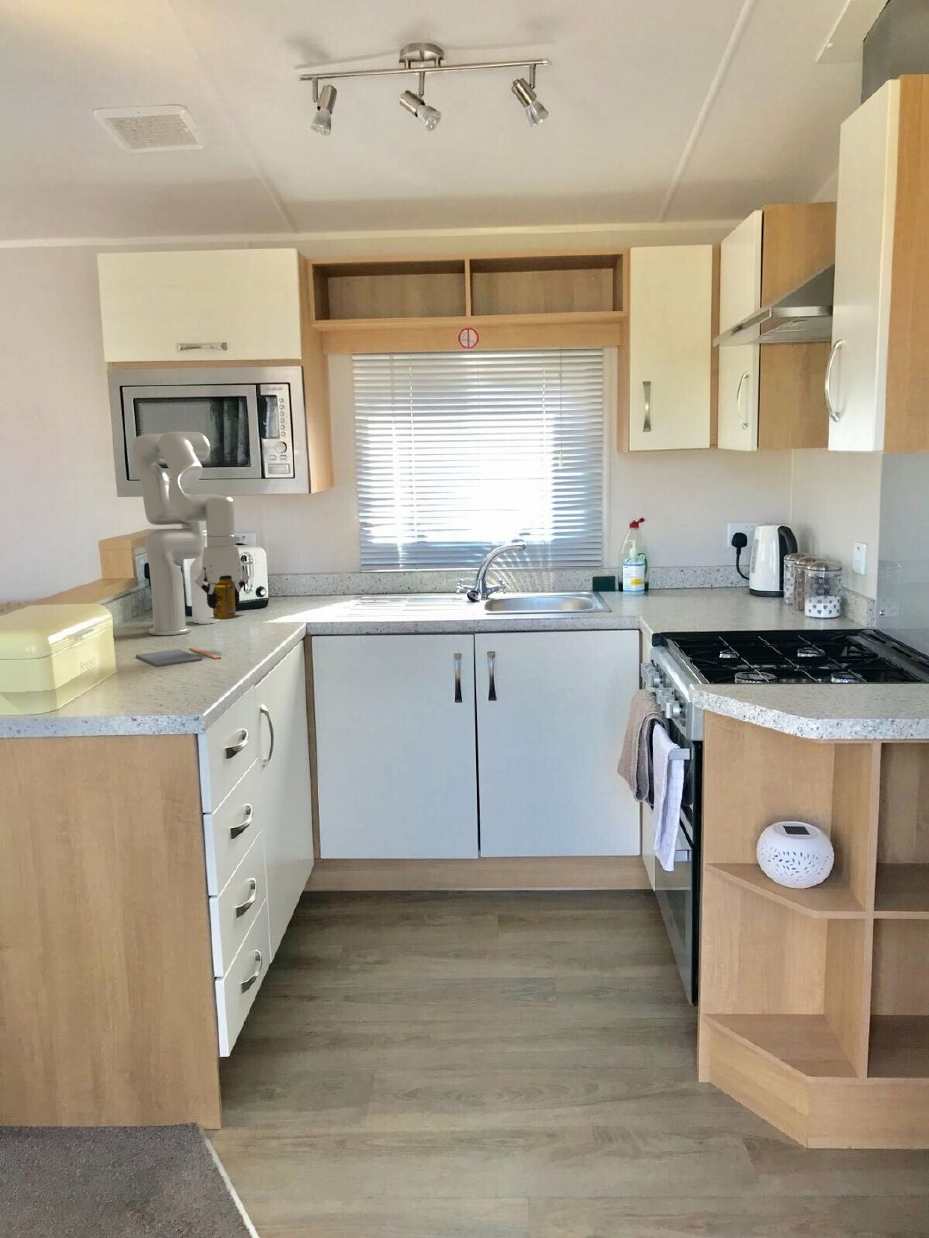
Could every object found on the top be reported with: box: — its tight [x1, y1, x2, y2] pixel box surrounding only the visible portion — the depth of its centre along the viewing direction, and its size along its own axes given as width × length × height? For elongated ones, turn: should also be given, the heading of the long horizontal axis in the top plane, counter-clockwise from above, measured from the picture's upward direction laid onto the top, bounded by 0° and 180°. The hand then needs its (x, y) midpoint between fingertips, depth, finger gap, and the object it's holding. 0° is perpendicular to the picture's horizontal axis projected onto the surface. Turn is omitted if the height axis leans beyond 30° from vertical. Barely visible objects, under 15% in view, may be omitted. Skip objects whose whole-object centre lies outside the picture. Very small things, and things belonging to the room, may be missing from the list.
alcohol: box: [189, 529, 220, 625], centre depth 310 cm, size 9×9×30 cm
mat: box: [135, 648, 203, 667], centre depth 255 cm, size 16×12×1 cm
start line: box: [189, 646, 221, 660], centre depth 261 cm, size 18×2×1 cm, turn 37°
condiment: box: [209, 576, 245, 621], centre depth 265 cm, size 7×8×12 cm
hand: (223, 605), depth 265 cm, fingers closed on condiment, 6 cm apart
